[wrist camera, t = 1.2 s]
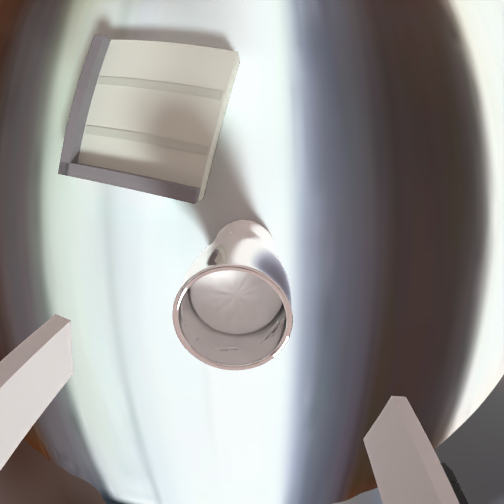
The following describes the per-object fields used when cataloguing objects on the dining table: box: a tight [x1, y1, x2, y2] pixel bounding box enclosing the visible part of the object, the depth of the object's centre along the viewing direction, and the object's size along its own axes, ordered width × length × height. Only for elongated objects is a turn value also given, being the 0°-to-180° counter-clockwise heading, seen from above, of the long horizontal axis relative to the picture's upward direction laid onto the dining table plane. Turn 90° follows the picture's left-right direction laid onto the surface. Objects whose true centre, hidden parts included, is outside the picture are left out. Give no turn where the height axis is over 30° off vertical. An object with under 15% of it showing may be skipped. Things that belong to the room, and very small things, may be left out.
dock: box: [58, 35, 240, 204], centre depth 25 cm, size 14×14×4 cm
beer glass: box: [173, 220, 293, 370], centre depth 24 cm, size 7×7×15 cm
